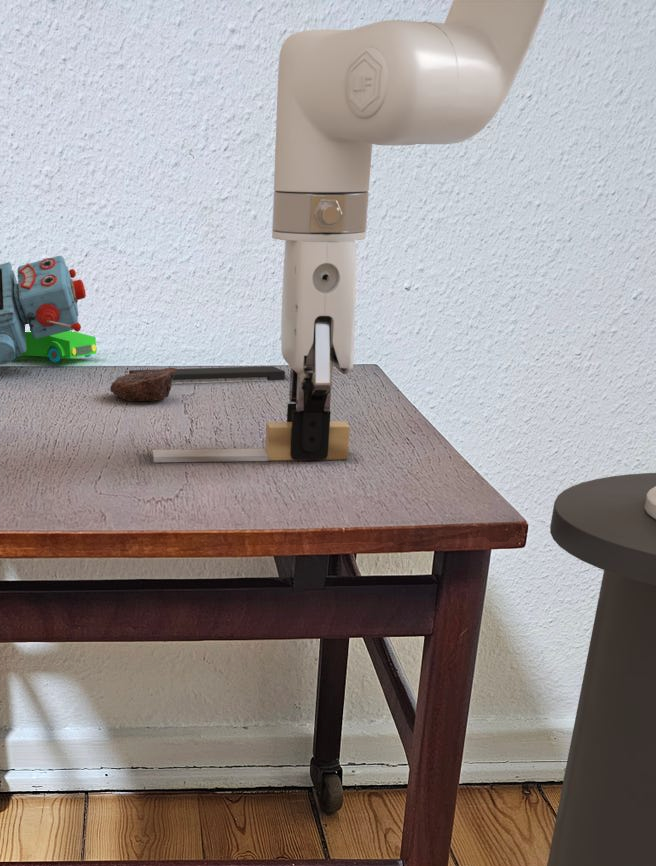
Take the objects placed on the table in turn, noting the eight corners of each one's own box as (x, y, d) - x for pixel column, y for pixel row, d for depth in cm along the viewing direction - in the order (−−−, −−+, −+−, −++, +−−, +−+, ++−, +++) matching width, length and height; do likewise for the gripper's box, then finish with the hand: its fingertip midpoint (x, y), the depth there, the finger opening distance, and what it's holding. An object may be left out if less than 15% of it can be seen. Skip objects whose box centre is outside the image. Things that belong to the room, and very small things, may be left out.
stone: (162, 407, 123) (162, 375, 121) (98, 403, 125) (96, 371, 123) (183, 396, 128) (183, 365, 127) (121, 393, 130) (120, 362, 129)
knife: (342, 453, 106) (345, 420, 104) (348, 460, 103) (350, 426, 102) (152, 455, 105) (152, 422, 103) (153, 462, 103) (153, 429, 101)
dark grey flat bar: (284, 383, 138) (272, 377, 142) (285, 371, 137) (272, 366, 141) (137, 387, 134) (129, 382, 138) (137, 375, 134) (128, 370, 138)
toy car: (-3, 358, 149) (-8, 300, 146) (30, 352, 154) (27, 296, 151) (68, 364, 144) (65, 304, 141) (100, 357, 149) (98, 299, 146)
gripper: (386, 224, 88) (365, 476, 98) (347, 212, 102) (332, 434, 111) (286, 225, 88) (275, 478, 97) (261, 212, 101) (253, 435, 111)
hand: (306, 453), depth 104 cm, fingers closed on knife, 2 cm apart
